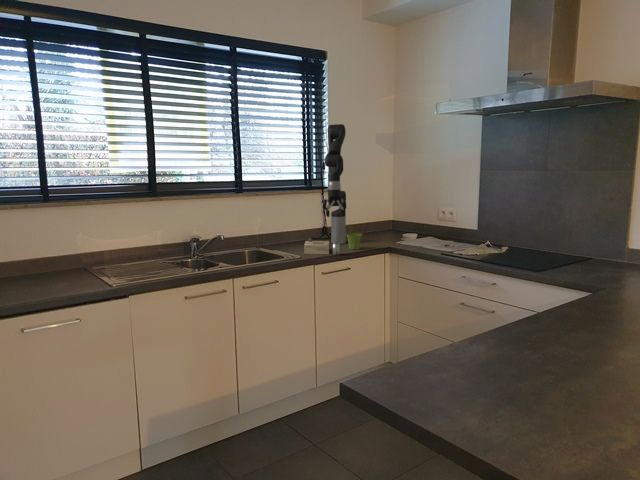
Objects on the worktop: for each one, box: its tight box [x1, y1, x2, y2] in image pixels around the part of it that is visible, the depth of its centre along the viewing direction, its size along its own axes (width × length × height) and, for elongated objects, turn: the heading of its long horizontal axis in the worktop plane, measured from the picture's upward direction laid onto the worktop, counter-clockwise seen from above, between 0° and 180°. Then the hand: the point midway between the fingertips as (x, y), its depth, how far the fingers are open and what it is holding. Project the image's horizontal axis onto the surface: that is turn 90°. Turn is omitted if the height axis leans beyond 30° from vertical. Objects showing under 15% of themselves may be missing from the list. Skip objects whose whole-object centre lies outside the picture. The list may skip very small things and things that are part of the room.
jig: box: [303, 237, 330, 255], centre depth 271 cm, size 16×14×7 cm
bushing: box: [332, 243, 341, 256], centre depth 262 cm, size 4×4×6 cm
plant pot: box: [346, 233, 363, 250], centre depth 278 cm, size 9×9×9 cm
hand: (334, 216), depth 278 cm, fingers open, 8 cm apart
